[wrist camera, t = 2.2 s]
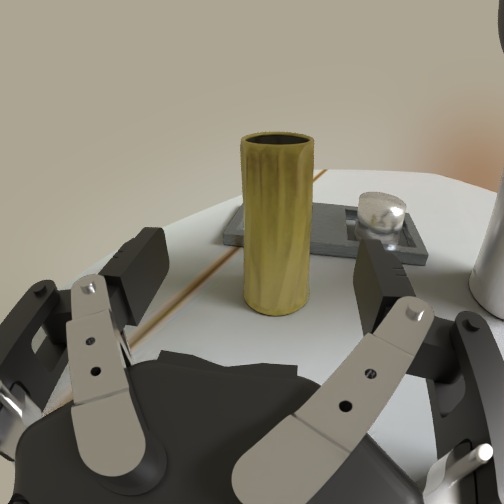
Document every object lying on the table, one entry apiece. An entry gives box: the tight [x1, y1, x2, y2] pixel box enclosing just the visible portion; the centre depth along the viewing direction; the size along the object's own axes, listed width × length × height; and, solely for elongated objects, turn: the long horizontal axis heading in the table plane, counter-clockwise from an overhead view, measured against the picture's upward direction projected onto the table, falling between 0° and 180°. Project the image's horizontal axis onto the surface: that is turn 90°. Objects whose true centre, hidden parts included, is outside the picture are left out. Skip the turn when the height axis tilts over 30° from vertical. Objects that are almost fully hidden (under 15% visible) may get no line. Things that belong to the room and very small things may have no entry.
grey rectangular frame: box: [223, 192, 428, 265], centre depth 36 cm, size 24×11×5 cm, turn 77°
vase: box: [240, 132, 314, 316], centre depth 24 cm, size 6×6×14 cm
